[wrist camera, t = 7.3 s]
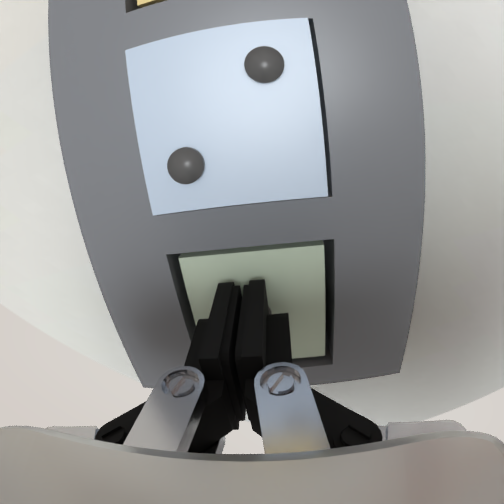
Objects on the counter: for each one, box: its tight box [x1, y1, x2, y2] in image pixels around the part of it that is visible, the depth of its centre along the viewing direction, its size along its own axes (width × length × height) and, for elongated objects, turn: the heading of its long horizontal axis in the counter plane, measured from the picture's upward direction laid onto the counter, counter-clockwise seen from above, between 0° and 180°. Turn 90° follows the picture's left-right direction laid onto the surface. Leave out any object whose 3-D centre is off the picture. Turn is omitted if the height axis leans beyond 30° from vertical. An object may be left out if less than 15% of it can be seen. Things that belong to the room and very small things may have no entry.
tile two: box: [125, 18, 328, 216], centre depth 8 cm, size 5×5×2 cm
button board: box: [48, 0, 425, 388], centre depth 10 cm, size 12×22×4 cm, turn 7°
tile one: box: [178, 240, 325, 359], centre depth 12 cm, size 5×5×2 cm
